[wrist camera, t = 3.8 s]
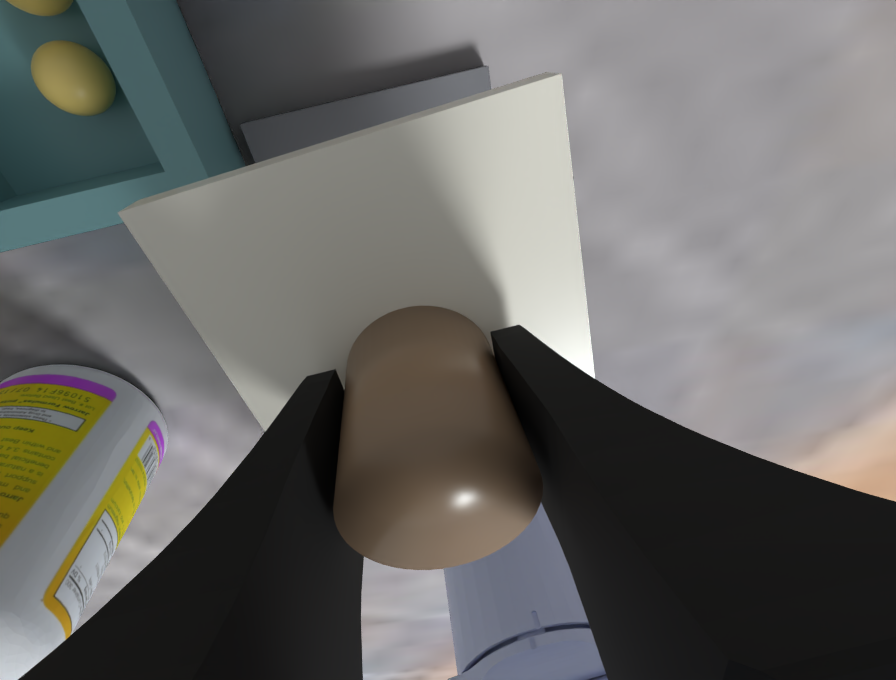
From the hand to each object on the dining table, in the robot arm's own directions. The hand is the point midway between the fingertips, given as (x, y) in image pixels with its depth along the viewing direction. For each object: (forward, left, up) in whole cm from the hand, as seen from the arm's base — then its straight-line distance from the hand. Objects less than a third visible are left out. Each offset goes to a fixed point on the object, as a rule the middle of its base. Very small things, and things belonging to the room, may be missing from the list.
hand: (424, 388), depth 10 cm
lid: (0, 0, -1) cm, 1 cm away
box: (+9, +9, -9) cm, 15 cm away
